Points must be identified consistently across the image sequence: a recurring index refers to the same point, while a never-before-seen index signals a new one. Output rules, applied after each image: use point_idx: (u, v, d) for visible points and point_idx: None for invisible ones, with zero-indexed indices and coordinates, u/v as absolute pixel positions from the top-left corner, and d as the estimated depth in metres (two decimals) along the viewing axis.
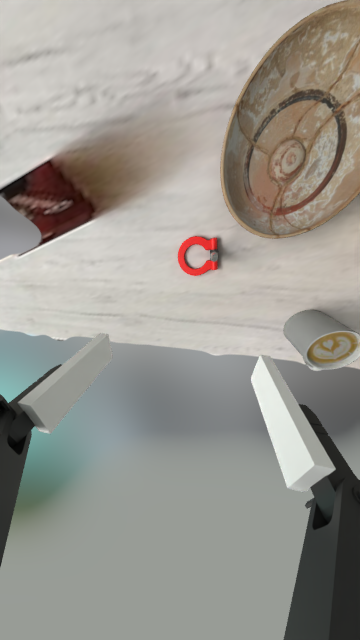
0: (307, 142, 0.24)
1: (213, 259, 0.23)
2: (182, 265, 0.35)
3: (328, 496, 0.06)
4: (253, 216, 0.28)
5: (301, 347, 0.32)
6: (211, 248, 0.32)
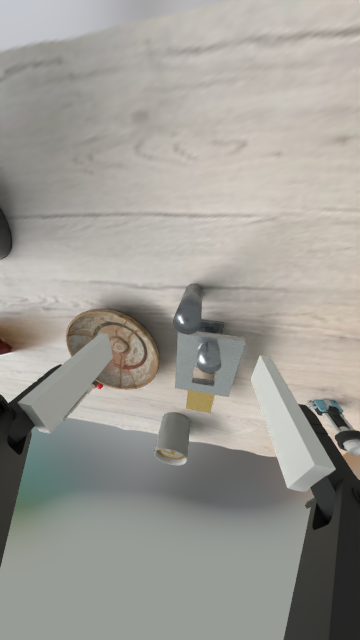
0: (126, 339, 0.37)
1: (62, 419, 0.36)
2: None
3: (328, 496, 0.06)
4: (108, 369, 0.41)
5: None
6: None
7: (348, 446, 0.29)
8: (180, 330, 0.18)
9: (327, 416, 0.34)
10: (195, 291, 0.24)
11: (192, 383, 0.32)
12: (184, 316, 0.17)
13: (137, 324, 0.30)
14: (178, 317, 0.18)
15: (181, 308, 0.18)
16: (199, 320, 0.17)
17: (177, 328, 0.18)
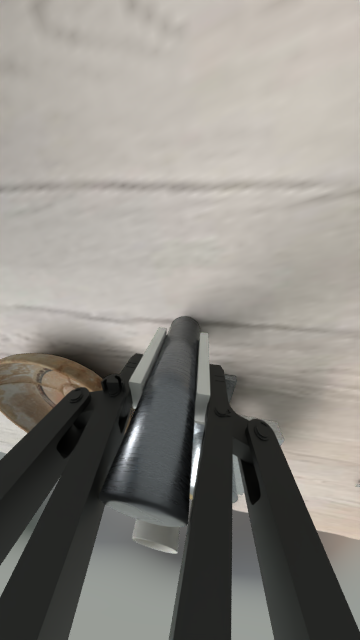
0: None
1: None
2: None
3: (206, 421, 0.08)
4: None
5: None
6: None
7: None
8: (127, 514, 0.06)
9: None
10: (184, 346, 0.11)
11: None
12: (131, 502, 0.05)
13: (88, 383, 0.17)
14: (113, 499, 0.05)
15: (126, 459, 0.05)
16: (183, 518, 0.05)
17: (117, 510, 0.06)
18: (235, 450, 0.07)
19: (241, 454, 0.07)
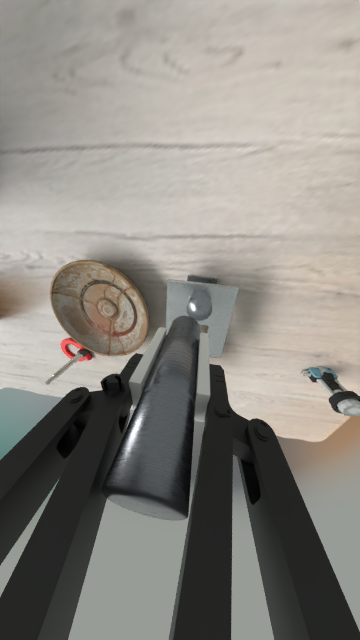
0: (115, 301, 0.35)
1: (45, 384, 0.34)
2: (66, 354, 0.47)
3: (206, 421, 0.08)
4: (97, 336, 0.39)
5: None
6: None
7: (342, 406, 0.28)
8: (128, 508, 0.06)
9: (321, 381, 0.33)
10: (184, 345, 0.12)
11: None
12: (132, 495, 0.05)
13: (125, 277, 0.28)
14: (115, 492, 0.05)
15: (127, 454, 0.06)
16: (183, 510, 0.05)
17: (119, 504, 0.06)
18: (235, 450, 0.07)
19: (241, 454, 0.07)
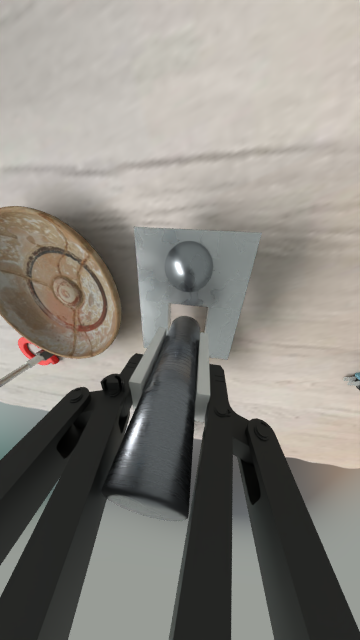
0: (75, 280, 0.25)
1: None
2: (27, 356, 0.36)
3: (206, 421, 0.08)
4: (58, 331, 0.29)
5: None
6: None
7: None
8: (128, 508, 0.06)
9: None
10: (184, 345, 0.12)
11: None
12: (132, 495, 0.05)
13: (74, 232, 0.18)
14: (115, 493, 0.05)
15: (127, 454, 0.06)
16: (183, 511, 0.05)
17: (119, 504, 0.06)
18: (235, 450, 0.07)
19: (241, 454, 0.07)
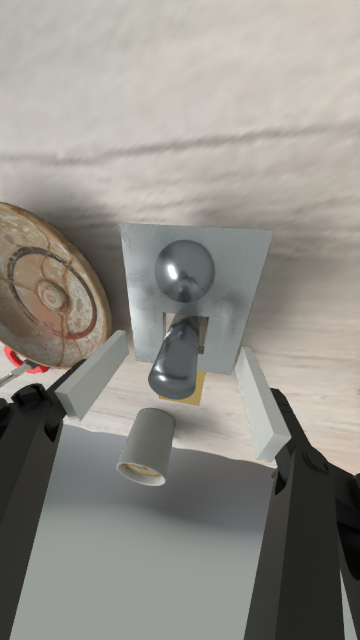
0: (61, 284, 0.22)
1: None
2: (15, 364, 0.34)
3: (286, 463, 0.07)
4: (45, 339, 0.27)
5: None
6: None
7: None
8: (161, 393, 0.11)
9: None
10: (190, 315, 0.16)
11: None
12: (166, 375, 0.10)
13: (53, 230, 0.15)
14: (157, 376, 0.10)
15: (162, 358, 0.10)
16: (193, 382, 0.10)
17: (156, 390, 0.11)
18: (335, 514, 0.06)
19: (345, 519, 0.06)
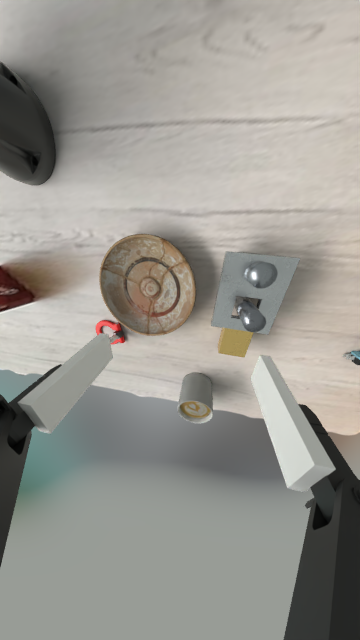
0: (159, 280, 0.36)
1: None
2: None
3: (328, 496, 0.06)
4: (136, 316, 0.40)
5: None
6: (116, 329, 0.44)
7: None
8: (247, 328, 0.24)
9: None
10: (248, 299, 0.30)
11: (231, 318, 0.31)
12: (254, 318, 0.23)
13: None
14: (249, 319, 0.23)
15: (250, 312, 0.24)
16: (265, 321, 0.23)
17: (245, 327, 0.24)
18: None
19: None
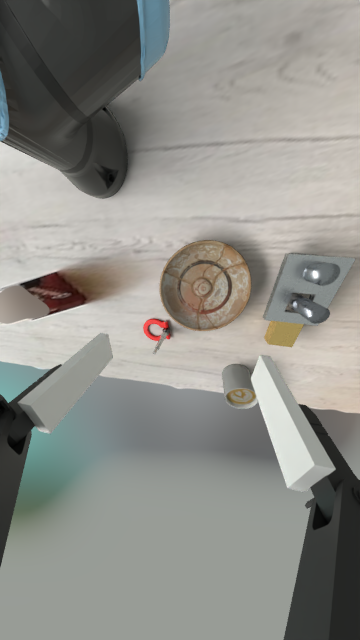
0: (211, 280, 0.40)
1: (153, 353, 0.39)
2: (147, 334, 0.51)
3: (328, 496, 0.06)
4: (186, 314, 0.44)
5: (224, 393, 0.48)
6: (164, 327, 0.48)
7: None
8: (311, 320, 0.28)
9: None
10: (301, 295, 0.34)
11: (284, 312, 0.35)
12: (319, 311, 0.27)
13: (240, 254, 0.33)
14: (314, 312, 0.27)
15: (314, 306, 0.28)
16: (328, 314, 0.27)
17: (310, 319, 0.28)
18: None
19: None
